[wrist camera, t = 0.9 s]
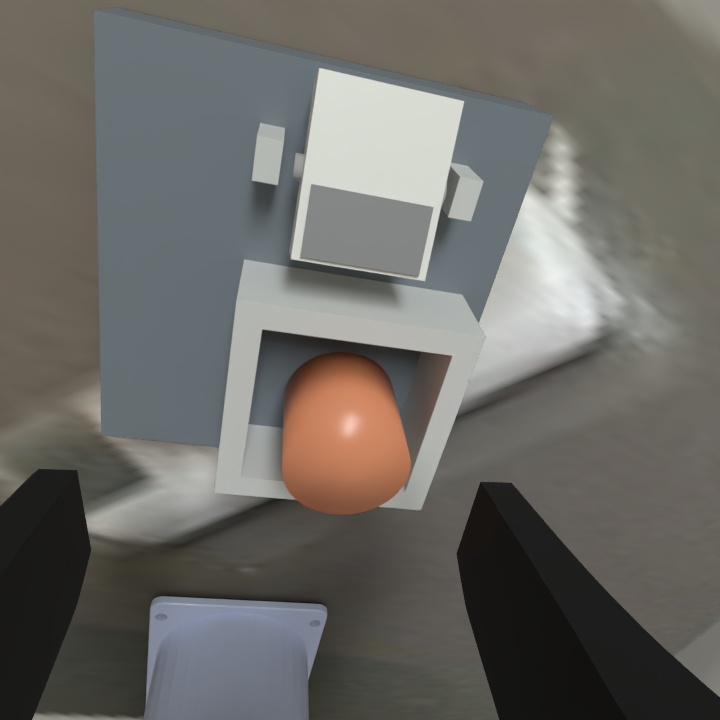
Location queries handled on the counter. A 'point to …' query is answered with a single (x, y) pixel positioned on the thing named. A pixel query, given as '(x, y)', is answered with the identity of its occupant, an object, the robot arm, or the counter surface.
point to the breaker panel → (271, 250)
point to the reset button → (342, 435)
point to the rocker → (372, 175)
